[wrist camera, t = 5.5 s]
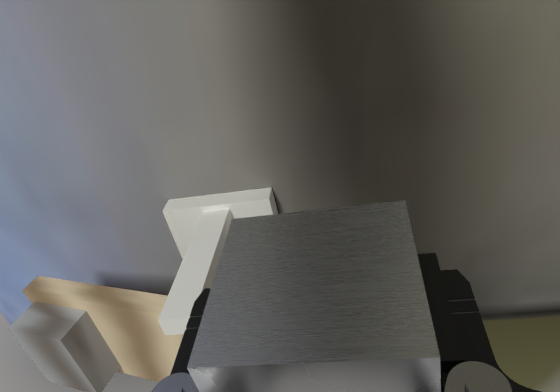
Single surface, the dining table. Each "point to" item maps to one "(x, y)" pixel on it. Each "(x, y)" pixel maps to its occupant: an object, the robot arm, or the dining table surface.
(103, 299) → the beam
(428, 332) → the block
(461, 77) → the dining table surface
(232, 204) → the pivot stand
